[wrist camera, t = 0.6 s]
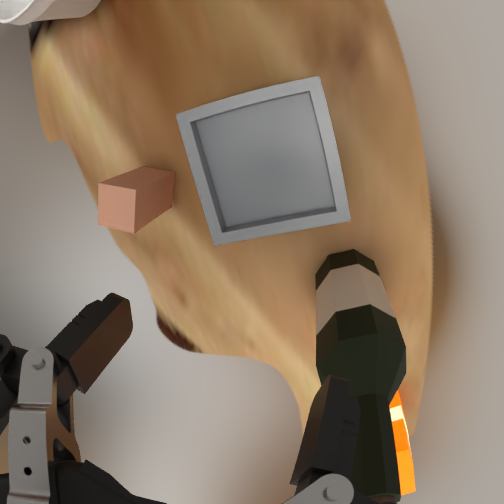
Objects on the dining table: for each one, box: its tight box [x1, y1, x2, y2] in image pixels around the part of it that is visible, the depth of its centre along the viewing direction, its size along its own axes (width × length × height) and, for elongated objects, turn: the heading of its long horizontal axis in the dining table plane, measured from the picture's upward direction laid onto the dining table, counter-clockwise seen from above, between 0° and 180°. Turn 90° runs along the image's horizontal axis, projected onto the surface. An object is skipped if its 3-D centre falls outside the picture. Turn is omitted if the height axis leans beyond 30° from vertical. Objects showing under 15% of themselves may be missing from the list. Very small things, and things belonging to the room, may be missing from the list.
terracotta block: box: [98, 167, 175, 234], centre depth 34 cm, size 5×5×10 cm
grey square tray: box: [176, 76, 351, 246], centre depth 32 cm, size 14×14×7 cm
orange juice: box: [389, 390, 415, 495], centre depth 38 cm, size 8×9×20 cm
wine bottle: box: [316, 249, 406, 504], centre depth 26 cm, size 8×8×30 cm
